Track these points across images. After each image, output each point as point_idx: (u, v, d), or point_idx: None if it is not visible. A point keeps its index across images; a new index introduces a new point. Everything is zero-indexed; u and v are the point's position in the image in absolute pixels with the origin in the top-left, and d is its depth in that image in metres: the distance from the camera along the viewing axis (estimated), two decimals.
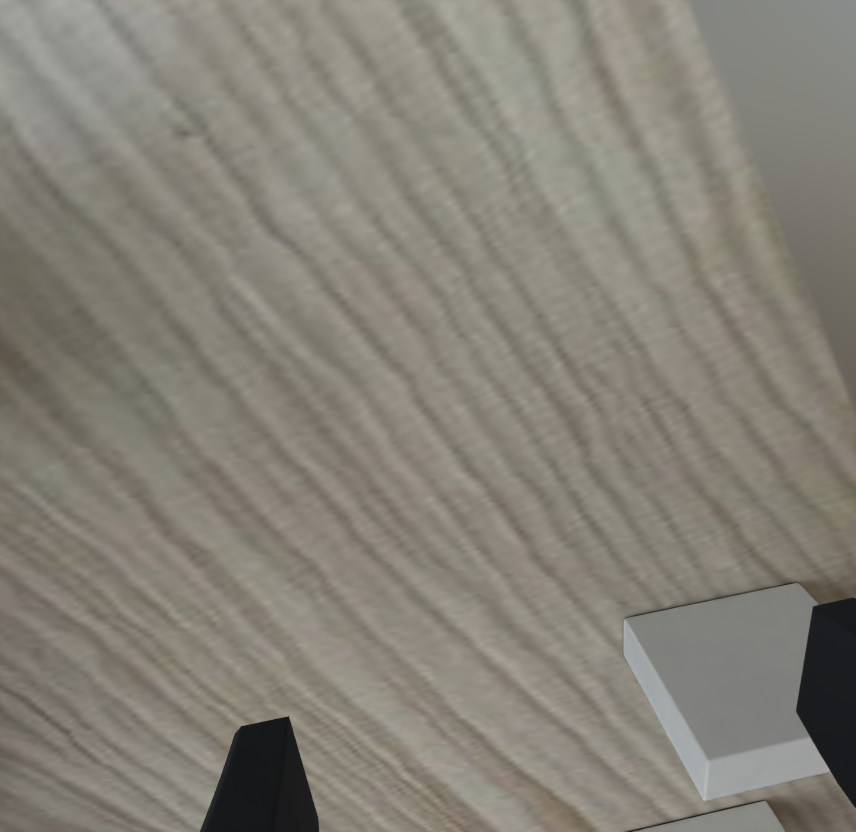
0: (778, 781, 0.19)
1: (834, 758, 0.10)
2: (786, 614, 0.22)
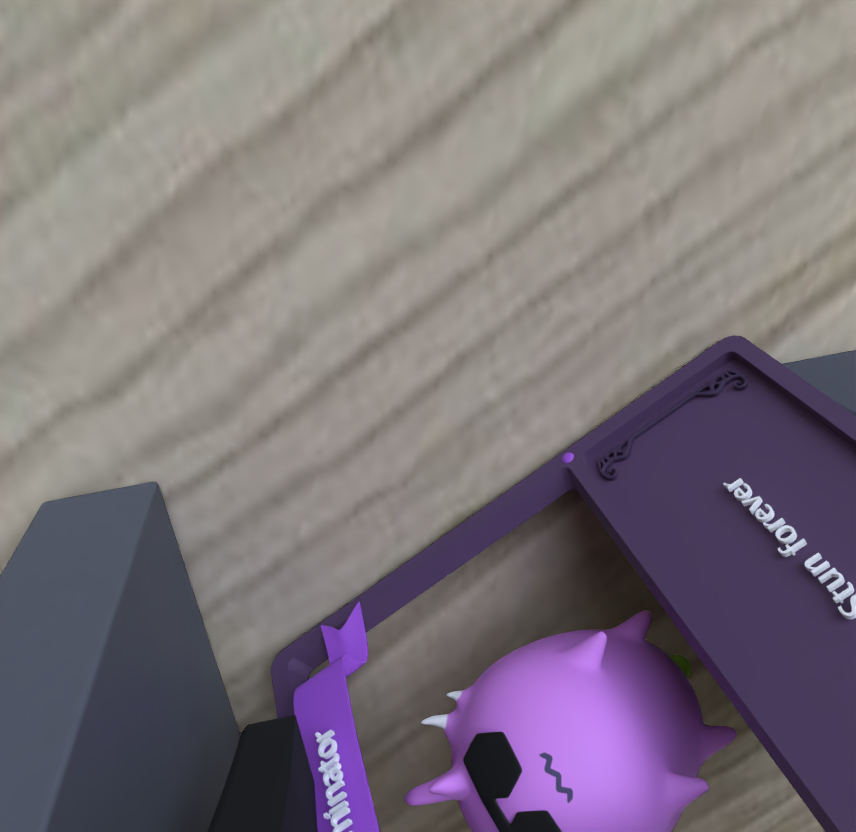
0: None
1: None
2: None
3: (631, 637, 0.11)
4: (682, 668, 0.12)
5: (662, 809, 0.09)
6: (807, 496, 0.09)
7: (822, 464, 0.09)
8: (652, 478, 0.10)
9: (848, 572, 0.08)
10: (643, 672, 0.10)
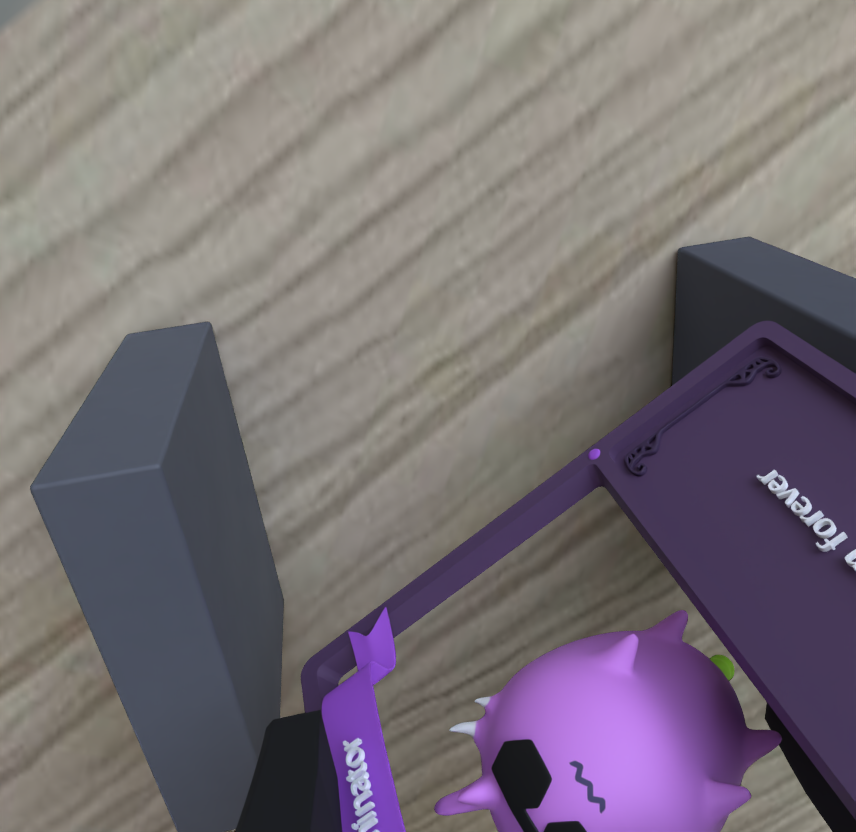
0: None
1: (801, 766, 0.10)
2: None
3: (666, 638, 0.10)
4: (724, 669, 0.12)
5: (701, 819, 0.08)
6: (847, 486, 0.08)
7: None
8: (682, 472, 0.10)
9: None
10: (679, 675, 0.10)
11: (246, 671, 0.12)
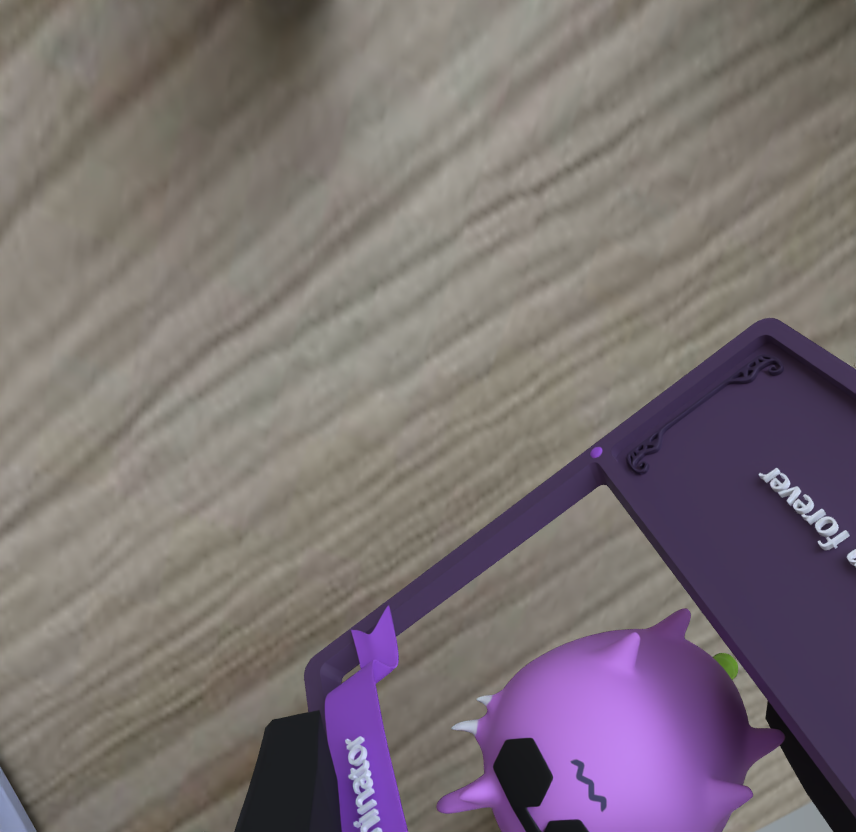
0: None
1: (802, 766, 0.10)
2: None
3: (669, 637, 0.10)
4: (727, 667, 0.12)
5: (703, 818, 0.08)
6: (849, 484, 0.08)
7: None
8: (684, 471, 0.10)
9: None
10: (681, 673, 0.10)
11: None
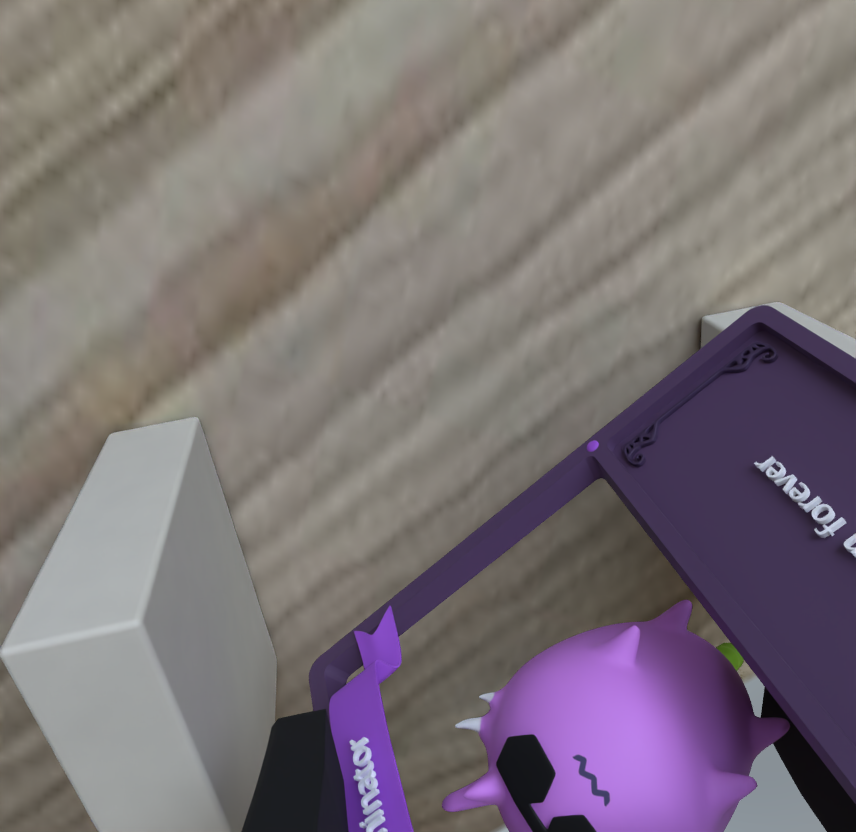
0: None
1: (796, 767, 0.10)
2: None
3: (671, 628, 0.10)
4: (732, 657, 0.11)
5: (708, 809, 0.08)
6: (844, 470, 0.08)
7: None
8: (680, 462, 0.10)
9: None
10: (683, 665, 0.10)
11: None
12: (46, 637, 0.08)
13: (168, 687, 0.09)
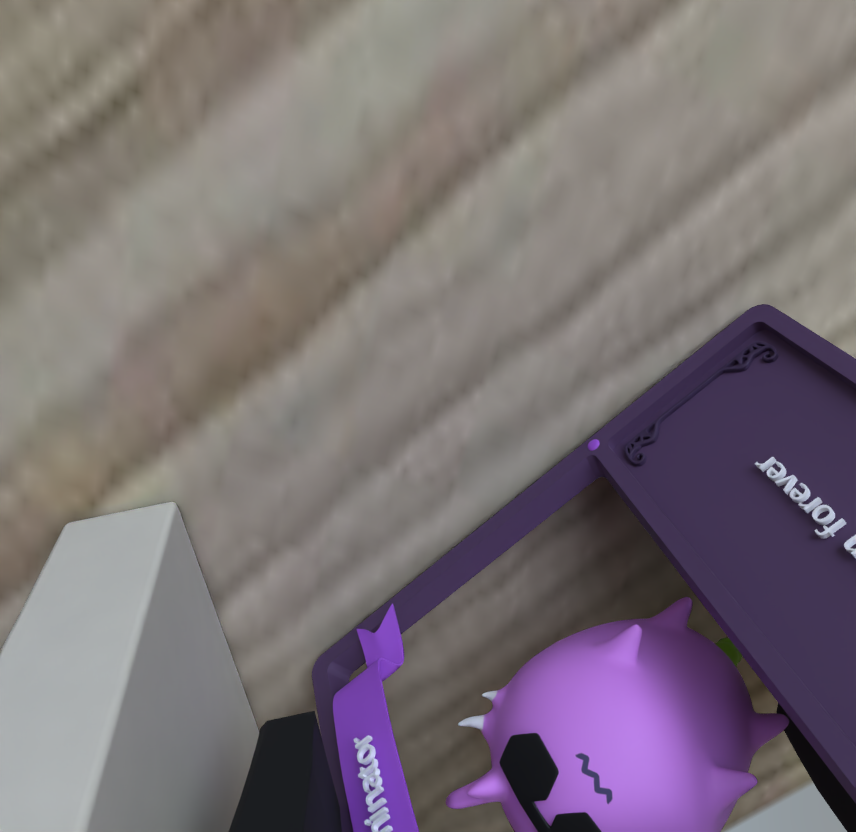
0: None
1: (813, 763, 0.10)
2: None
3: (671, 626, 0.10)
4: (731, 652, 0.12)
5: (708, 806, 0.08)
6: (846, 472, 0.08)
7: None
8: (681, 461, 0.10)
9: None
10: (684, 662, 0.10)
11: None
12: None
13: None
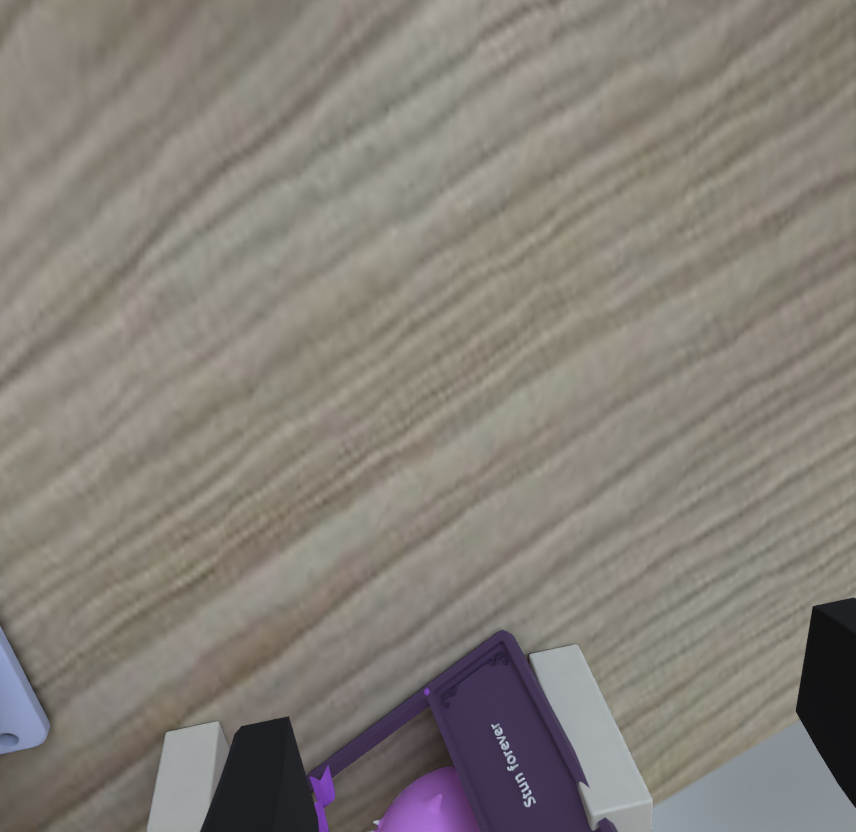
0: None
1: (834, 758, 0.10)
2: None
3: None
4: None
5: None
6: (522, 738, 0.20)
7: (530, 721, 0.20)
8: (464, 711, 0.21)
9: (530, 783, 0.19)
10: (464, 801, 0.21)
11: None
12: None
13: None
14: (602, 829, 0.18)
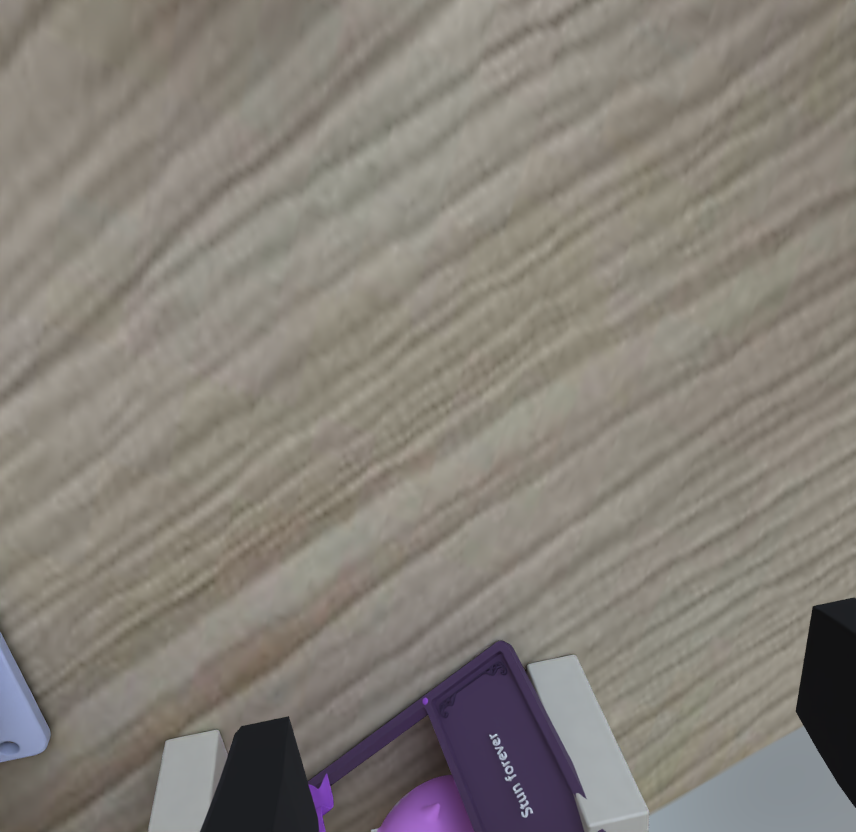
0: None
1: (834, 758, 0.10)
2: None
3: None
4: None
5: None
6: (520, 748, 0.20)
7: (528, 731, 0.20)
8: (462, 721, 0.21)
9: (528, 793, 0.19)
10: (461, 810, 0.21)
11: None
12: None
13: None
14: None
